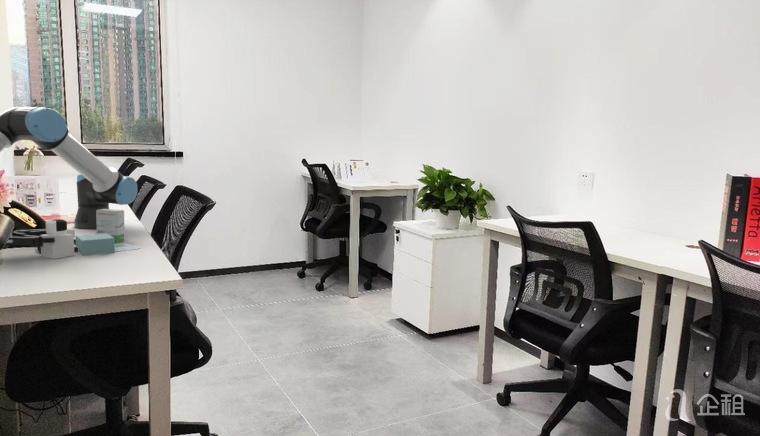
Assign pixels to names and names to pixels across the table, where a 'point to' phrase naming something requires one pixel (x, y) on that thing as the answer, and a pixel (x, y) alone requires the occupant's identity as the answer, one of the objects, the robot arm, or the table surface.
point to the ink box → (111, 223)
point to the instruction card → (124, 247)
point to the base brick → (95, 244)
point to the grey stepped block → (58, 249)
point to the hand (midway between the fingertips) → (70, 236)
